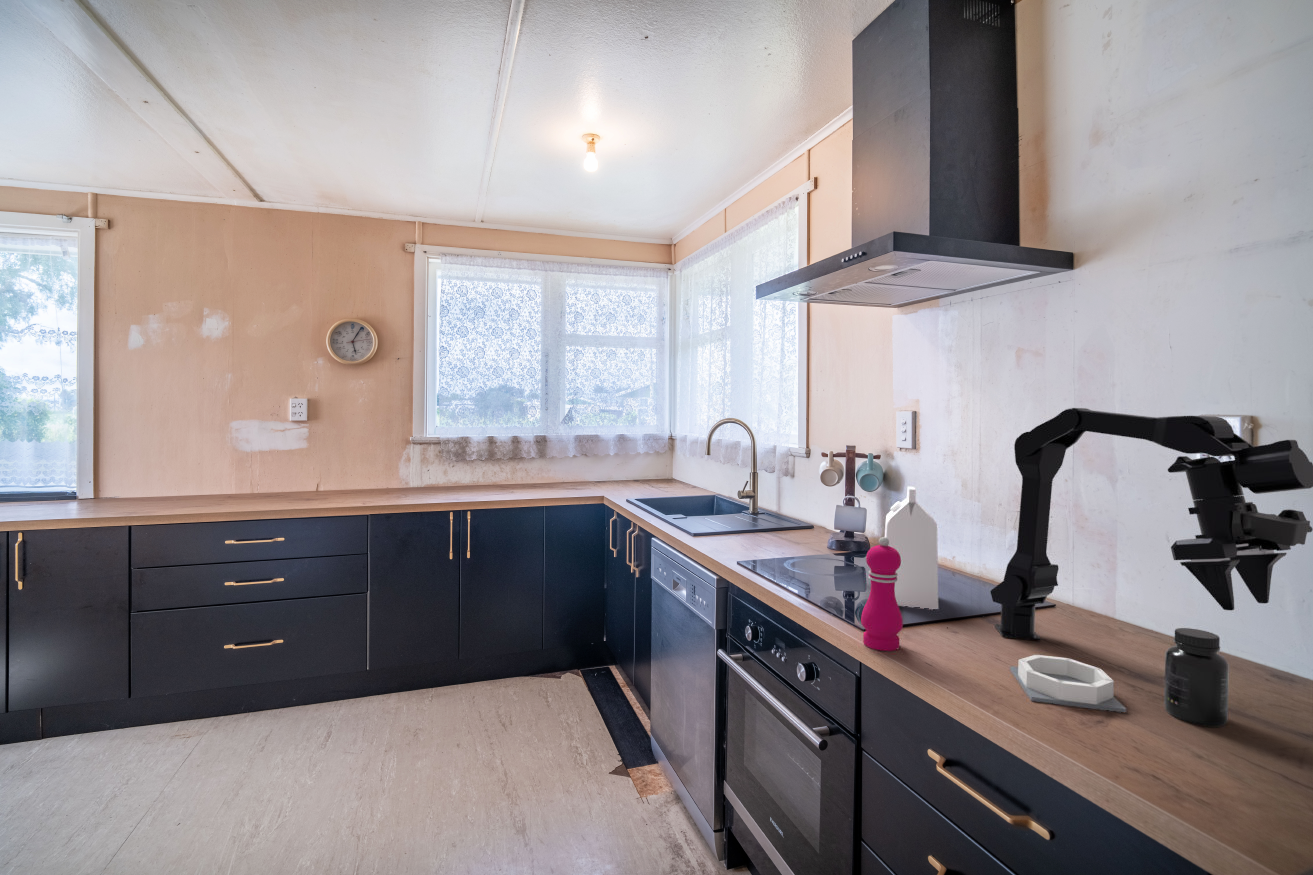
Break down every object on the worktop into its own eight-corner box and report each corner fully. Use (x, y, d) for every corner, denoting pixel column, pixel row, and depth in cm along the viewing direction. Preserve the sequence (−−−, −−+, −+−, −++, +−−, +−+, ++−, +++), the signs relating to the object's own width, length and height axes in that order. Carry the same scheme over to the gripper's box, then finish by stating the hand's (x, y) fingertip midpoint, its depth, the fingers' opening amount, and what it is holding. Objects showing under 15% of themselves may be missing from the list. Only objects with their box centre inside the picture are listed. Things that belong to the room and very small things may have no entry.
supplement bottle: (1195, 705, 91) (1199, 624, 91) (1241, 728, 84) (1245, 641, 84) (1150, 705, 91) (1154, 624, 90) (1192, 728, 84) (1196, 641, 83)
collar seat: (1009, 669, 103) (1010, 651, 103) (1093, 679, 99) (1093, 660, 99) (1031, 700, 91) (1032, 680, 91) (1126, 712, 88) (1127, 691, 88)
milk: (938, 609, 135) (942, 492, 134) (882, 604, 139) (885, 489, 138) (932, 595, 147) (936, 486, 146) (881, 590, 150) (884, 484, 149)
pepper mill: (852, 640, 115) (854, 534, 115) (883, 636, 118) (886, 532, 117) (878, 654, 109) (881, 541, 108) (910, 649, 111) (914, 539, 111)
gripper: (1253, 493, 80) (1287, 616, 77) (1322, 488, 88) (1355, 601, 85) (1157, 503, 90) (1184, 612, 87) (1226, 498, 98) (1254, 599, 95)
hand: (1246, 606), depth 88 cm, fingers open, 9 cm apart
